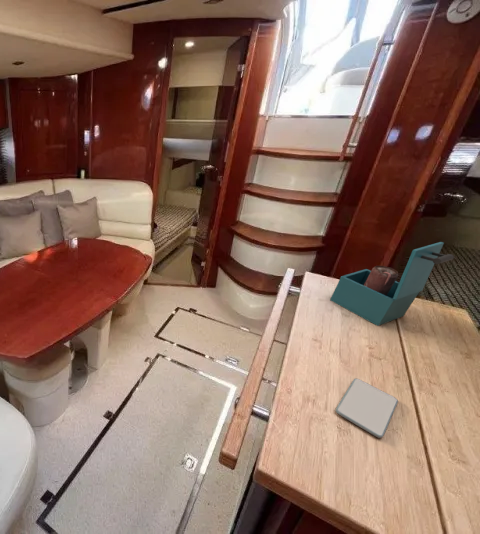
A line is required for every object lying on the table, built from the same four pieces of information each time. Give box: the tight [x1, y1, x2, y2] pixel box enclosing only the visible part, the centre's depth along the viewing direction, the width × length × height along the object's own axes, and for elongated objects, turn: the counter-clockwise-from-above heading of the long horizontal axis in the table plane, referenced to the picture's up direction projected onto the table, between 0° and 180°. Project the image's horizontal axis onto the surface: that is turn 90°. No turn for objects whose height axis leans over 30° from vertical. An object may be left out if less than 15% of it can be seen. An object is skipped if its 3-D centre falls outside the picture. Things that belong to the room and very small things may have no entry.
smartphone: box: [335, 378, 399, 439], centre depth 70 cm, size 8×1×15 cm
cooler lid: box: [393, 241, 455, 300], centre depth 85 cm, size 15×13×5 cm
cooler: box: [329, 268, 421, 327], centre depth 99 cm, size 15×13×10 cm
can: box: [364, 265, 399, 296], centre depth 97 cm, size 6×6×14 cm
